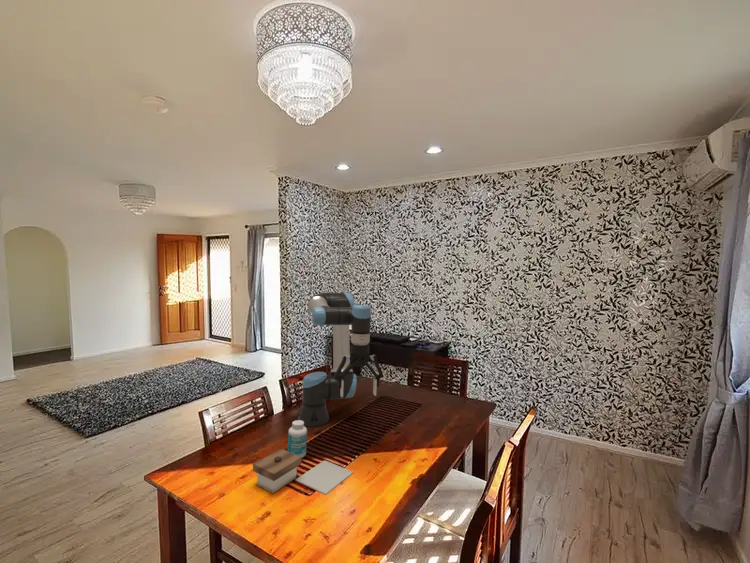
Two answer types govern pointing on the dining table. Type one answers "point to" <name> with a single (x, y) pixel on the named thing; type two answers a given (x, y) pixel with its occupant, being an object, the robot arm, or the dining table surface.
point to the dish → (276, 481)
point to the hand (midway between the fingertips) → (358, 395)
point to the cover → (277, 464)
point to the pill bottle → (297, 438)
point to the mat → (324, 477)
